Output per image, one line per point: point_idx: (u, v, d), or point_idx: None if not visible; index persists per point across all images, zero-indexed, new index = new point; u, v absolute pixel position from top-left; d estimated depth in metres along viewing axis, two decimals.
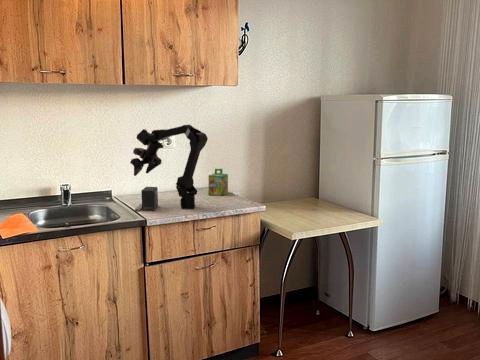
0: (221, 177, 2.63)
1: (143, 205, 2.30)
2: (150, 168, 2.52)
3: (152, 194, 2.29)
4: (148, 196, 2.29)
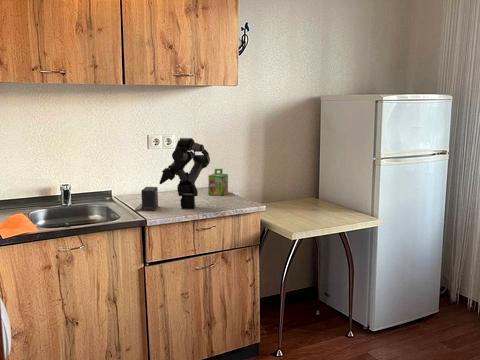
0: (221, 177, 2.63)
1: (143, 205, 2.30)
2: None
3: (152, 194, 2.29)
4: (148, 196, 2.29)
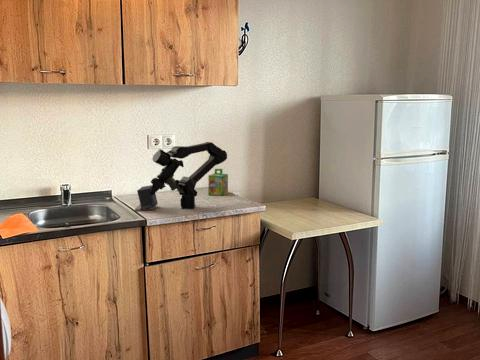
0: (221, 177, 2.63)
1: (142, 205, 2.30)
2: None
3: (148, 192, 2.29)
4: (144, 195, 2.29)
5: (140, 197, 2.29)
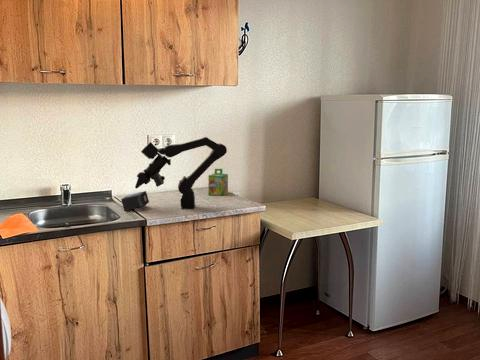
0: (221, 177, 2.63)
1: (138, 206, 2.30)
2: None
3: (125, 199, 2.30)
4: (128, 203, 2.30)
5: (130, 207, 2.30)
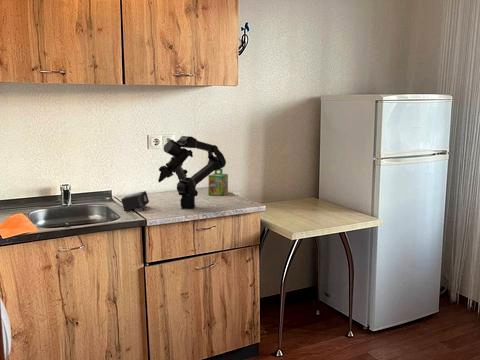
0: (221, 177, 2.63)
1: (138, 206, 2.30)
2: None
3: (125, 199, 2.30)
4: (128, 203, 2.30)
5: (130, 207, 2.30)
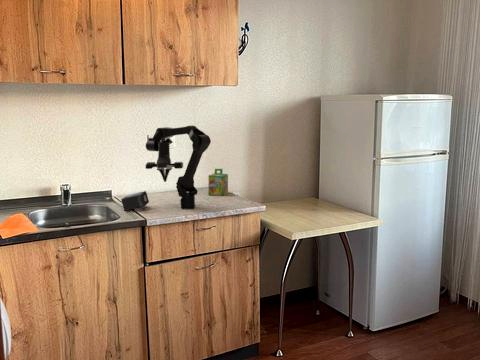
0: (221, 177, 2.63)
1: (138, 206, 2.30)
2: (164, 174, 2.43)
3: (125, 199, 2.30)
4: (128, 203, 2.30)
5: (130, 207, 2.30)
